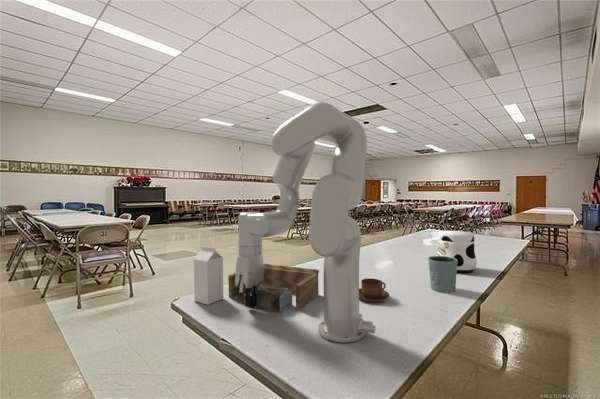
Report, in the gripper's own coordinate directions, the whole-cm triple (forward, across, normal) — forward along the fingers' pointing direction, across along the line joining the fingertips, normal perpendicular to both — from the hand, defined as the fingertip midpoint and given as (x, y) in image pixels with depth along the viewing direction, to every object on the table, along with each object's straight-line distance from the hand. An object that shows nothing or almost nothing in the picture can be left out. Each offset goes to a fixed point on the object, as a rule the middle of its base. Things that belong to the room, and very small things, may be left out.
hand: (251, 306), depth 94 cm
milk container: (+1, -81, +63) cm, 103 cm away
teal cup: (+1, -46, +56) cm, 73 cm away
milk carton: (+1, -1, -19) cm, 19 cm away
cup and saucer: (+2, -26, +34) cm, 43 cm away
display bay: (+1, -14, 0) cm, 14 cm away
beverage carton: (+2, -6, +1) cm, 7 cm away
